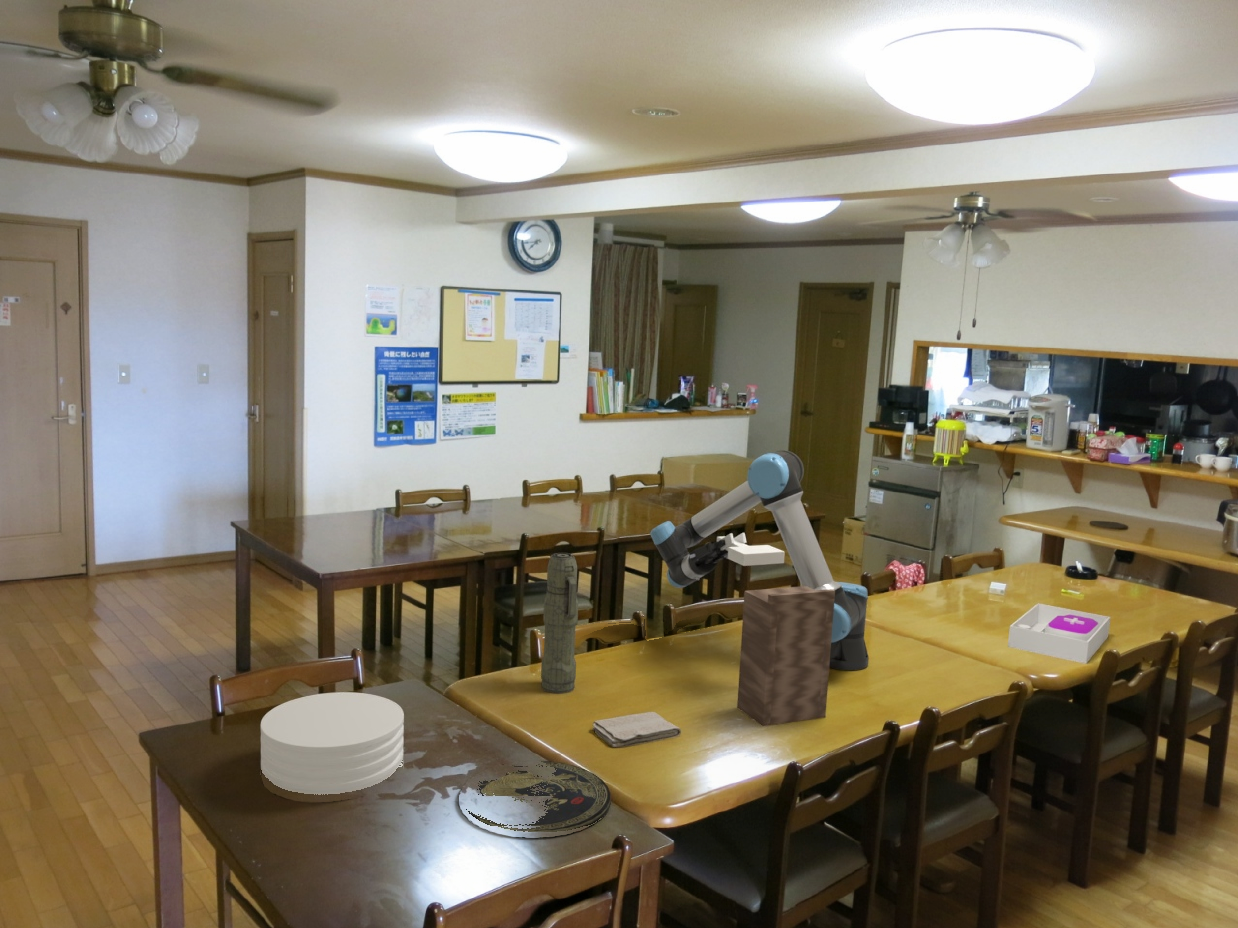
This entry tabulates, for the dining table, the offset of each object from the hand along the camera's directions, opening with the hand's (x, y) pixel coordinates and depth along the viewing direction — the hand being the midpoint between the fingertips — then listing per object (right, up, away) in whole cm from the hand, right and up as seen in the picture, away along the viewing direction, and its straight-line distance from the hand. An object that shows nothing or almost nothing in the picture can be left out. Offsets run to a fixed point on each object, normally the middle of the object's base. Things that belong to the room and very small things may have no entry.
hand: (738, 537), depth 259 cm
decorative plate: (-48, -47, -67) cm, 95 cm away
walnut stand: (+8, -42, -18) cm, 46 cm away
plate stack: (-90, -44, -59) cm, 116 cm away
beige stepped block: (+1, -4, -2) cm, 5 cm away
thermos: (-47, -38, -7) cm, 61 cm away
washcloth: (-28, -43, -33) cm, 61 cm away
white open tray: (+108, -37, +51) cm, 125 cm away
